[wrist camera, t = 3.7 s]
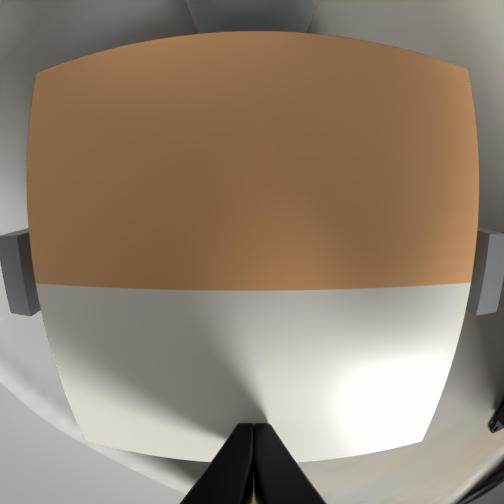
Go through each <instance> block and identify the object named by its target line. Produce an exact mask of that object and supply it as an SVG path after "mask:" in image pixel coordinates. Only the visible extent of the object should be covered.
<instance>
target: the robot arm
mask: <svg viewBox="0 0 504 504" xmlns="http://www.w3.org/2000/svg"><path fill="white" fill-rule="evenodd" d="M503 428H504V402H503V404H502V406H501V408H500V410H499V412H498V414H497V416H496V418H495V420H494V421H493V423H492V425H491V427H490V429H489V430H490V431H491V433H495V432H497V431H499V430H501V429H503ZM253 494H254V497H255V504H326V502H325V501H324V500H323V498H322V497H321V496H320V494H319V493H318V492H317V490H316V489H315V488H314V486H313V485H312V483H311V482H310V481H309V479H308V478H307V477H306V475H305V474H304V472H303V471H302V470H301V468H300V467H299V465H298V464H297V462H296V461H295V460H294V458H293V457H292V455H291V454H290V452H289V451H288V449H287V448H286V446H285V445H284V443H283V442H282V440H281V439H280V437H279V436H278V434H277V433H276V431H275V430H274V428H273V427H272V425H271V424H269V423H256V424H255V425H253V424H252V423H239V424H237V425H236V427H235V428H234V430H233V431H232V433H231V434H230V436H229V437H228V438H227V440H226V441H225V443H224V444H223V446H222V447H221V449H220V450H219V451H218V453H217V454H216V456H215V457H214V458H213V460H212V461H211V463H210V464H209V465H208V467H207V468H206V470H205V471H204V472H203V474H202V475H201V476H200V478H199V479H198V480H197V482H196V483H195V484H194V486H193V487H192V488H191V490H190V491H189V492H188V494H187V495H186V496H185V497H184V499H183V500H182V501H181V502H180V504H252V502H253Z"/></svg>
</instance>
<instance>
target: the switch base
mask: <svg viewBox="0 0 504 504" xmlns="http://www.w3.org/2000/svg"><path fill="white" fill-rule="evenodd" d="M0 261H1V267H2V273H3V279H4V284H5V289H6V293H7V298H8V302H9V307H10V311H11V313H15V314H20V315H26V316H32V315H34V314H35V313H37V312H38V311H40V310H41V308H40V303H39V298H38V293H37V288H36V282H35V276H34V269H33V262H32V255H31V246H30V237H29V228H27V229H24V230H20V231H16V232H12V233H8V234H5V235H1V236H0ZM503 280H504V233H501V232H497V231H494V230H490V229H486V228H482V227H477V239H476V249H475V257H474V265H473V272H472V279H471V285H470V290H469V296H468V301H467V306H466V309H467V310H468V311H470V312H471V313H473V314H474V315H476V316H477V315H483V314H489V313H495V312H497V308H498V304H499V299H500V295H501V290H502V285H503Z"/></svg>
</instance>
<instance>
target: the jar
mask: <svg viewBox="0 0 504 504" xmlns="http://www.w3.org/2000/svg"><path fill="white" fill-rule="evenodd" d="M185 2H186V4H187V7H188V9H189V12H190V14H191V17H192V19H193V22H194V24H195V27H196V29H197V32H198V34H203V33H216V32H236V31H277V32H297V33H306V32H307V30H308V27H309V25H310V22H311V19H312V16H313V13H314V11H315V8H316V5H317V2H318V0H185Z"/></svg>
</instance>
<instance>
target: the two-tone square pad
mask: <svg viewBox="0 0 504 504" xmlns="http://www.w3.org/2000/svg"><path fill="white" fill-rule="evenodd" d="M27 210H28V225H29V237H30V246H31V255H32V262H33V269H34V276H35V282H36V288H37V293H38V298H39V303H40V308H41V312H42V317H43V321H44V325H45V329H46V333H47V337H48V341H49V344H50V348H51V351H52V355H53V358H54V361H55V365H56V368H57V371H58V374H59V377H60V380H61V383H62V386H63V388H64V391H65V394H66V396H67V399H68V402H69V404H70V407H71V409H72V412H73V414H74V416H75V419H76V421H77V424H78V426H79V428H80V430H81V432H82V435H83V437H84V439H85V441H89V442H92V443H96V444H100V445H104V446H108V447H112V448H117V449H121V450H126V451H131V452H136V453H141V454H147V455H153V456H159V457H166V458H173V459H182V460H191V461H202V462H211V461H212V460H213V458H214V457H215V456H216V454H217V453H218V451H219V450H220V449H221V447H222V446H223V444H224V443H225V441H226V440H227V438H228V437H229V436H230V434H231V433H232V431H233V430H234V428H235V427H236V425H237V424H239V423H252V424H253V425H255V424H256V423H269V424H271V425H272V427H273V428H274V430H275V431H276V433H277V434H278V436H279V437H280V439H281V440H282V442H283V443H284V445H285V446H286V448H287V449H288V451H289V452H290V454H291V455H292V457H293V458H294V460H295V461H296V462H307V461H318V460H327V459H336V458H343V457H350V456H356V455H362V454H368V453H373V452H378V451H383V450H388V449H392V448H397V447H401V446H405V445H409V444H413V443H416V442H420V441H422V439H423V437H424V435H425V433H426V431H427V428H428V426H429V424H430V421H431V419H432V417H433V414H434V412H435V409H436V407H437V404H438V402H439V399H440V396H441V394H442V391H443V388H444V385H445V382H446V380H447V377H448V374H449V371H450V367H451V364H452V361H453V358H454V354H455V351H456V347H457V344H458V340H459V336H460V332H461V328H462V324H463V320H464V315H465V311H466V306H467V301H468V296H469V290H470V285H471V279H472V272H473V265H474V257H475V249H476V239H477V227H478V211H479V154H478V138H477V127H476V117H475V109H474V101H473V95H472V89H471V83H470V77H469V72H468V69H465V68H463V67H460V66H457V65H455V64H452V63H449V62H446V61H443V60H440V59H437V58H434V57H430V56H427V55H424V54H420V53H417V52H413V51H409V50H405V49H401V48H397V47H393V46H388V45H384V44H379V43H374V42H369V41H364V40H358V39H352V38H345V37H338V36H330V35H321V34H310V33H297V32H277V31H236V32H216V33H203V34H193V35H184V36H176V37H169V38H162V39H156V40H150V41H144V42H139V43H134V44H129V45H125V46H120V47H116V48H112V49H108V50H104V51H100V52H97V53H93V54H90V55H86V56H83V57H79V58H76V59H73V60H70V61H67V62H64V63H61V64H58V65H56V66H53V67H50V68H47V69H45V70H42V71H40V72H37V73H36V78H35V84H34V90H33V96H32V104H31V112H30V121H29V132H28V148H27Z"/></svg>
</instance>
